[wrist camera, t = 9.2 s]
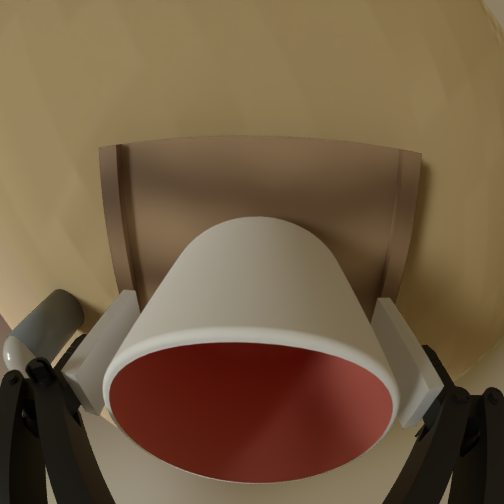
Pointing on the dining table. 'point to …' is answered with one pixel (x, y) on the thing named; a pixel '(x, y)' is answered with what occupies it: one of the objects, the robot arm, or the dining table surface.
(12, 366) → the shaker
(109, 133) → the dining table surface
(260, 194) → the board
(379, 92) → the dining table surface
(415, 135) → the dining table surface
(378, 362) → the cup
